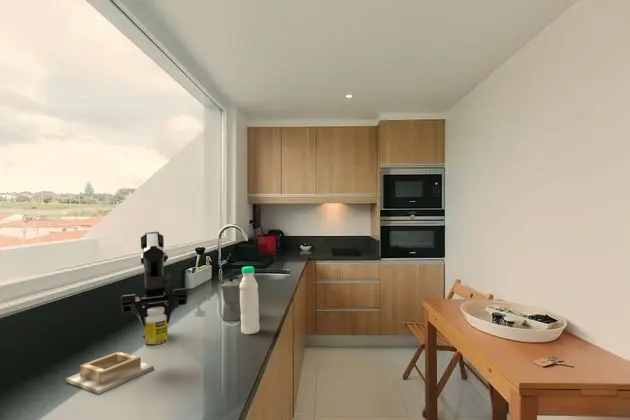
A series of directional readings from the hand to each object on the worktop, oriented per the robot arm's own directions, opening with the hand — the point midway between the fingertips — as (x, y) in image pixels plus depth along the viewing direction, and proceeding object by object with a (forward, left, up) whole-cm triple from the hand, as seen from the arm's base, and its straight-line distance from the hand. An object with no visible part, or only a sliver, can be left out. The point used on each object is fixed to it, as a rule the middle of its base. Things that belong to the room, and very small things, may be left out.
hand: (156, 324), depth 103 cm
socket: (-9, -8, -13) cm, 18 cm away
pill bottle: (-1, +1, -7) cm, 7 cm away
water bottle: (+4, +38, -13) cm, 40 cm away
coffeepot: (-17, +50, -13) cm, 54 cm away
